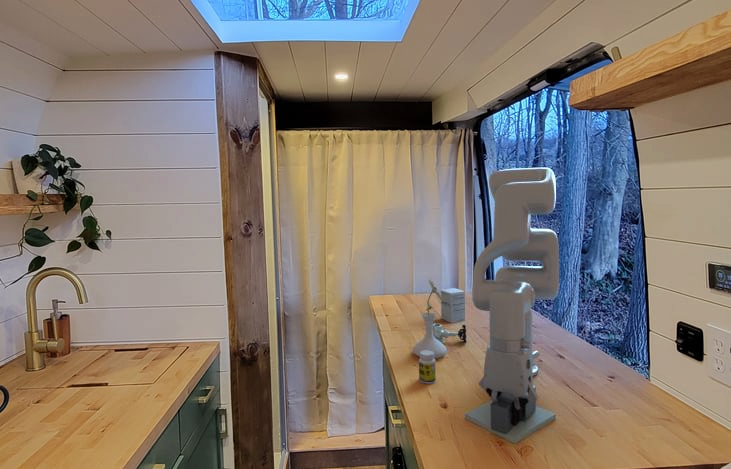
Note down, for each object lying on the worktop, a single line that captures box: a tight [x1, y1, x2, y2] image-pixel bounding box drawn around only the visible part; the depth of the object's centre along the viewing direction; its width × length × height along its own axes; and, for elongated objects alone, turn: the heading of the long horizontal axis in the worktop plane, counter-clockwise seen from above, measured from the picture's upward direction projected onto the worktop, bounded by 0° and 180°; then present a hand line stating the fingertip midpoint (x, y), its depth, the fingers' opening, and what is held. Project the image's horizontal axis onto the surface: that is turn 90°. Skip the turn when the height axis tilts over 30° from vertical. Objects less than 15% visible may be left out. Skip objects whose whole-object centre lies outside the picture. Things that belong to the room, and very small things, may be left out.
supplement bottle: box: [418, 350, 437, 385], centre depth 128 cm, size 5×5×8 cm
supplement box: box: [440, 287, 466, 324], centre depth 184 cm, size 7×7×13 cm
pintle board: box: [464, 400, 557, 445], centre depth 107 cm, size 20×15×6 cm
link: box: [491, 385, 537, 434], centre depth 105 cm, size 18×6×6 cm, turn 139°
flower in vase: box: [412, 279, 448, 359], centre depth 147 cm, size 13×11×25 cm
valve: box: [433, 323, 467, 344], centre depth 158 cm, size 7×7×12 cm
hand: (507, 419), depth 102 cm, fingers closed on link, 3 cm apart
